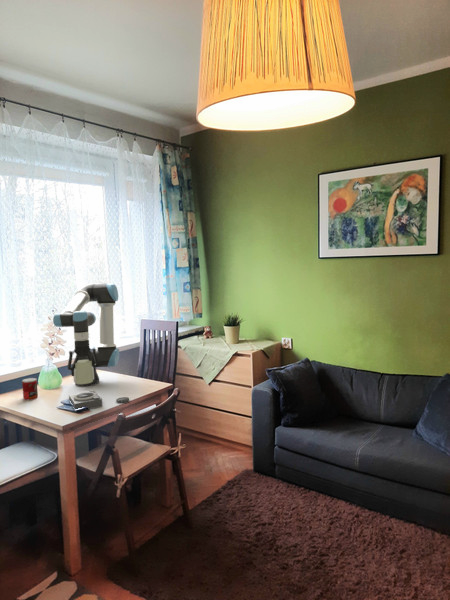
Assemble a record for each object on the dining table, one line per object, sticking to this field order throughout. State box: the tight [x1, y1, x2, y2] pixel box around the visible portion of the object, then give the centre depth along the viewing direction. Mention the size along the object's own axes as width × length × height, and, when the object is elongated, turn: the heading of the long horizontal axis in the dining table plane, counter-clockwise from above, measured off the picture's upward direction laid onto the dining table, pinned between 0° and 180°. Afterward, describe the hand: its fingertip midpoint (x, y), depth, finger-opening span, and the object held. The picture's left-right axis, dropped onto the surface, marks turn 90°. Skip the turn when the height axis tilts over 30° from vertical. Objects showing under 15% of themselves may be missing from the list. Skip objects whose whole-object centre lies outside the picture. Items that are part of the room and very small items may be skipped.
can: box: [74, 360, 93, 384], centre depth 235 cm, size 9×9×12 cm
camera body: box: [68, 389, 103, 410], centre depth 236 cm, size 18×14×5 cm
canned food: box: [21, 377, 39, 401], centre depth 250 cm, size 8×8×11 cm
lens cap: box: [116, 396, 130, 404], centre depth 240 cm, size 7×7×2 cm
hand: (84, 380), depth 235 cm, fingers closed on can, 9 cm apart
